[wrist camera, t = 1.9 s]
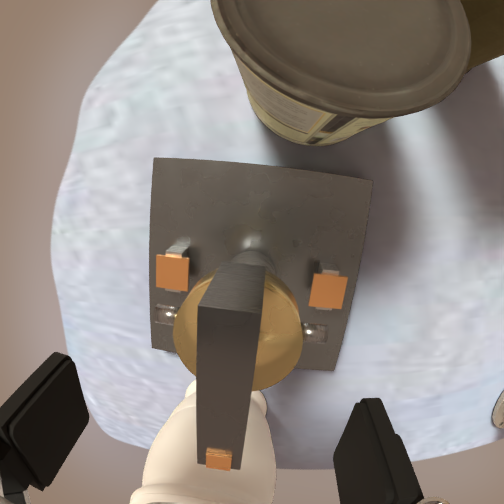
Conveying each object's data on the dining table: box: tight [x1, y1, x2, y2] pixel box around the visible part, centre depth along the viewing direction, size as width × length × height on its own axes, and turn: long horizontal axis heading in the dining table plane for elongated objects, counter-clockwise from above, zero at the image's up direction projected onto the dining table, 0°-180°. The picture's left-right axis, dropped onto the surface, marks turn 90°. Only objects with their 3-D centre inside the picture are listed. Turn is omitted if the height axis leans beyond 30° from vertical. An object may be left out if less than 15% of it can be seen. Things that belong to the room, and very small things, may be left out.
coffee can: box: [211, 0, 471, 146], centre depth 14 cm, size 10×10×14 cm
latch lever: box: [154, 261, 329, 471], centre depth 13 cm, size 9×8×7 cm
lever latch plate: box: [149, 158, 373, 371], centre depth 21 cm, size 16×16×9 cm
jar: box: [129, 380, 276, 504], centre depth 22 cm, size 11×10×15 cm
